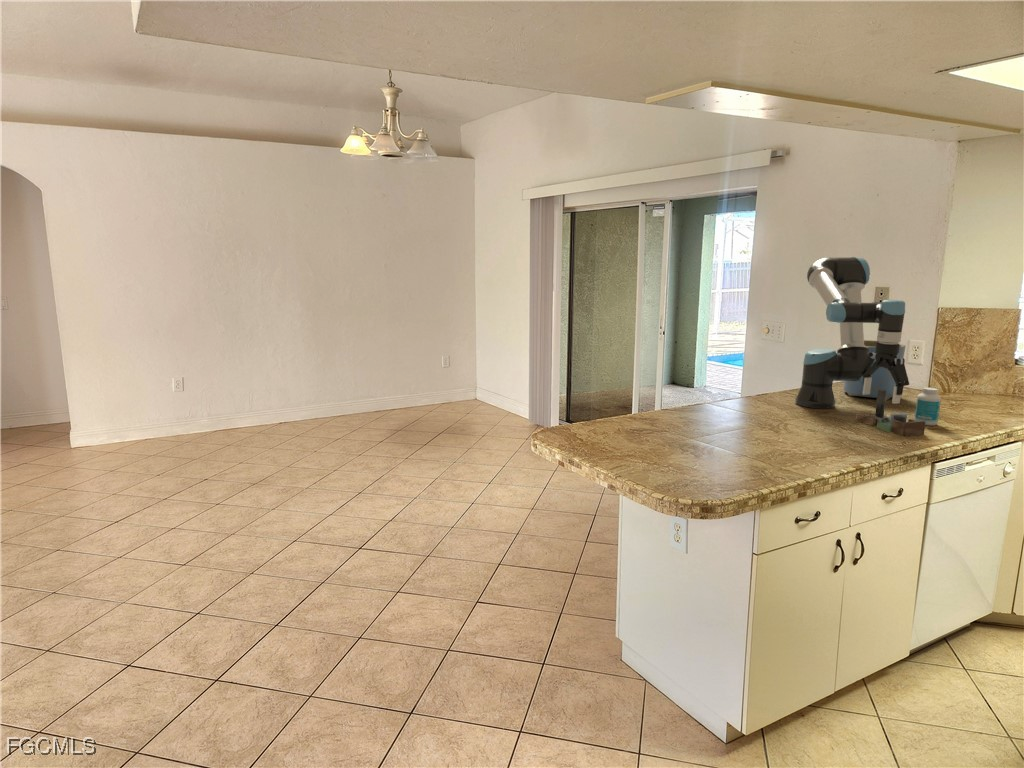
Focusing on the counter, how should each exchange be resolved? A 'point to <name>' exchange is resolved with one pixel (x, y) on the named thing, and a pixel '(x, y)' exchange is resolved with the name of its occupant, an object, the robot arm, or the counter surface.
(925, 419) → the pill bottle
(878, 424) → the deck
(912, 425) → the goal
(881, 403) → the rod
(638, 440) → the counter surface
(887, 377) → the planter
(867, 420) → the guide
